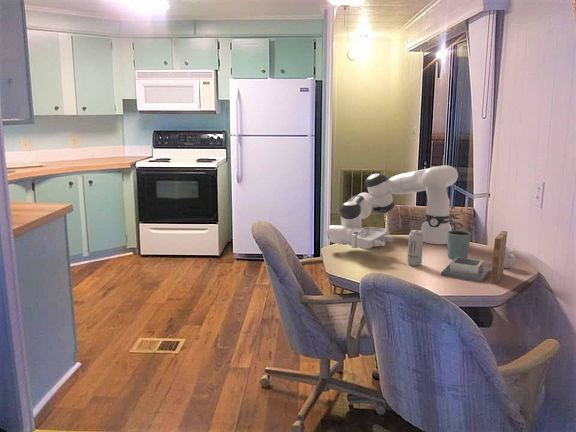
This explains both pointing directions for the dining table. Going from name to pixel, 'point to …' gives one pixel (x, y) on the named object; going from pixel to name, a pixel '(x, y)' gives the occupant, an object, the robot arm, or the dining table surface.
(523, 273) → the dining table surface
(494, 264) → the door panel
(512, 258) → the cup
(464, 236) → the green tapered pot
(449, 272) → the grey fixture base
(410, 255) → the energy drink can
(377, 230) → the paper bowls
